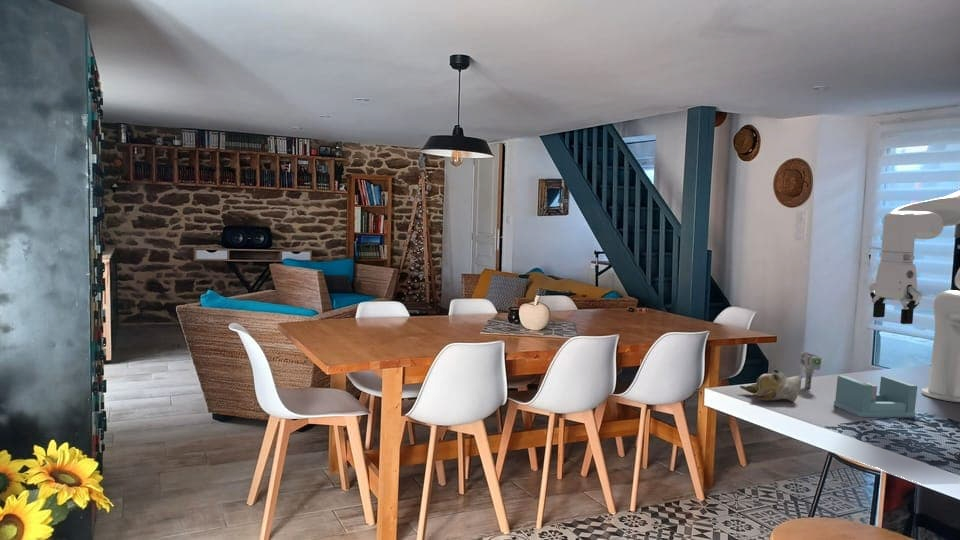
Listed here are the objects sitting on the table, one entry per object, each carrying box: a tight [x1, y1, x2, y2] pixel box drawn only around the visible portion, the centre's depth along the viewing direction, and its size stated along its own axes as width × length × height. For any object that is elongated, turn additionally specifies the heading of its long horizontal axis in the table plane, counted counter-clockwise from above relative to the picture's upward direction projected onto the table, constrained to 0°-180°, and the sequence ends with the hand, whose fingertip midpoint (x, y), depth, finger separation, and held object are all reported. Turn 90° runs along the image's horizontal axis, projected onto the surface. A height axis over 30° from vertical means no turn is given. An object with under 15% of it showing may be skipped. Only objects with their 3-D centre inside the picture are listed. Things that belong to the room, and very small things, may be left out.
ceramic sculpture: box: [739, 369, 803, 402], centre depth 184 cm, size 11×9×15 cm
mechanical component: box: [799, 351, 823, 389], centre depth 200 cm, size 3×10×10 cm, turn 174°
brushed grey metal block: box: [866, 382, 878, 402], centre depth 178 cm, size 4×4×6 cm
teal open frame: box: [833, 375, 918, 418], centre depth 178 cm, size 16×10×8 cm, turn 99°
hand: (892, 320), depth 184 cm, fingers open, 9 cm apart
